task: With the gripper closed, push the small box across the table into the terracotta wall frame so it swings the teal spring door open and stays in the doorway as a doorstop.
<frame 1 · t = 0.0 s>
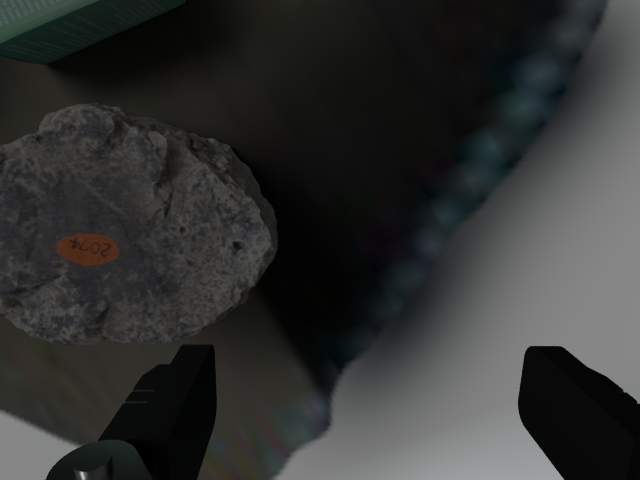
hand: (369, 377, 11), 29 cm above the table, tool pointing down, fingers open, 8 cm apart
petrified wood: (169, 212, 40), on the table
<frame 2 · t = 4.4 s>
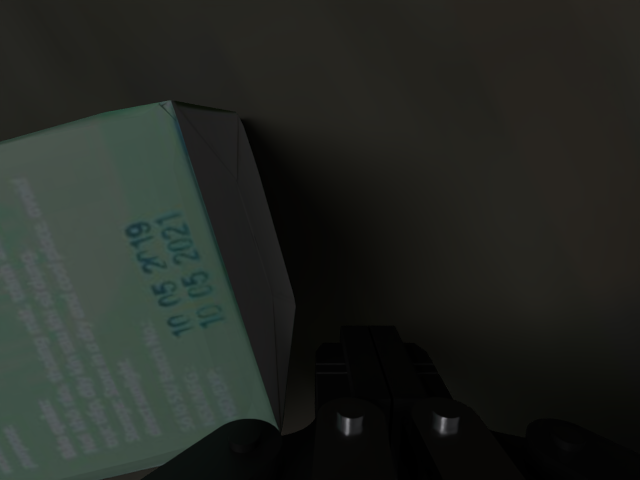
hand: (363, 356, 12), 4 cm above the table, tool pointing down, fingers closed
box: (91, 260, 16), on the table, touching gripper
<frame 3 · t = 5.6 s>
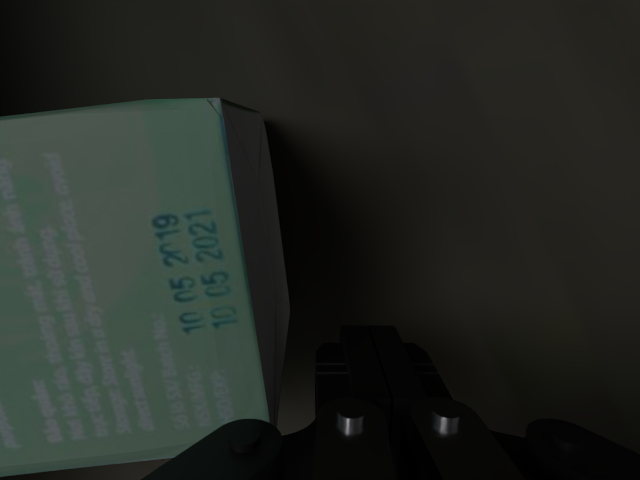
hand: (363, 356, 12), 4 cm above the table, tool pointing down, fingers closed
box: (89, 238, 15), on the table, touching door, gripper
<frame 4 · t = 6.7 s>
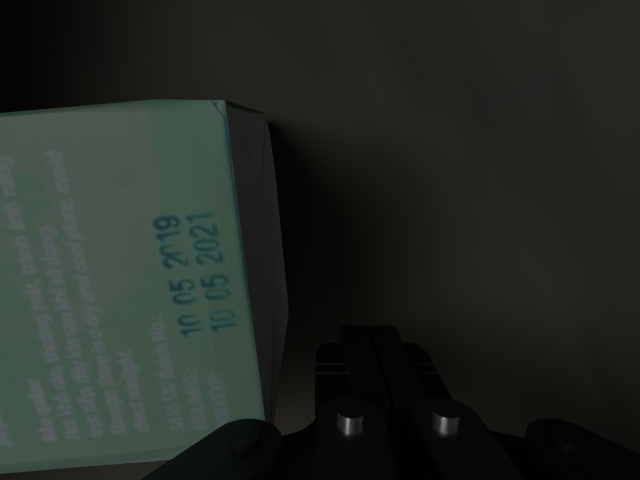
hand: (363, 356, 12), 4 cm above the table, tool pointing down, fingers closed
box: (89, 235, 15), on the table, touching door, gripper
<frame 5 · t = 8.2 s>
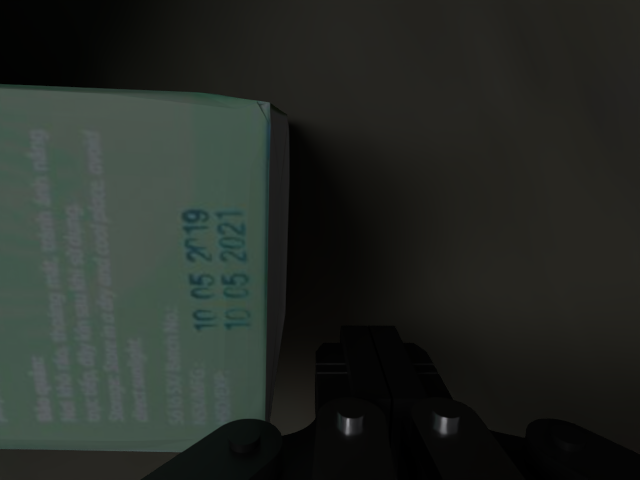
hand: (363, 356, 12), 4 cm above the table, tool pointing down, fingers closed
box: (93, 214, 15), on the table, touching door, gripper
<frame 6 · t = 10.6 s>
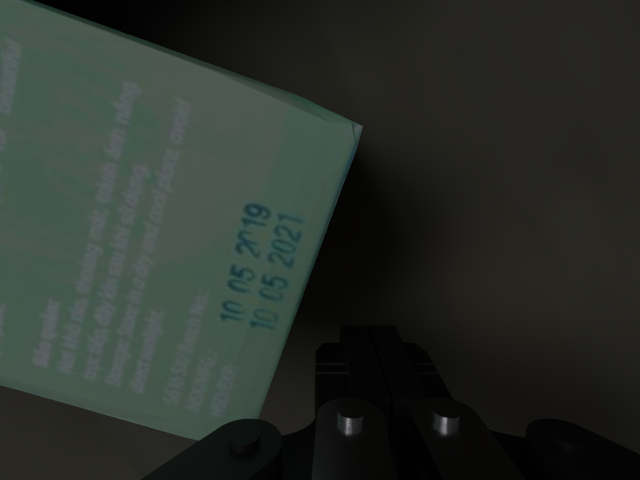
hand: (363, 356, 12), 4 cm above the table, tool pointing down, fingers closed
box: (119, 164, 15), on the table, touching door, gripper
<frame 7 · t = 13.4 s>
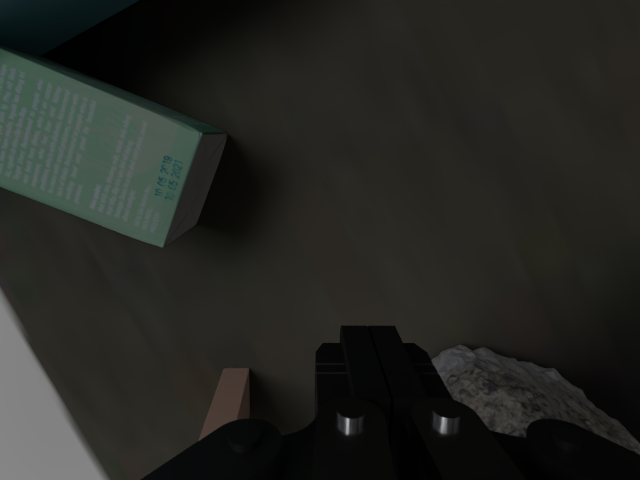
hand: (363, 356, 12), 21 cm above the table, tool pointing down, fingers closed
petrified wood: (473, 429, 37), on the table
box: (122, 144, 31), on the table
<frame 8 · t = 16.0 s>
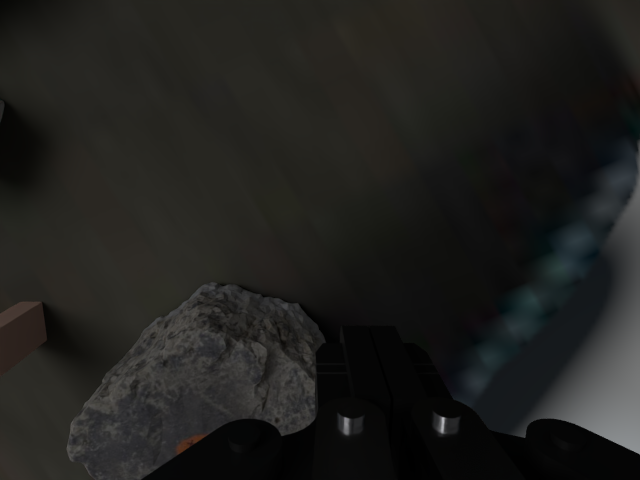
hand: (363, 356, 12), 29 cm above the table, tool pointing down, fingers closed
petrified wood: (241, 357, 44), on the table
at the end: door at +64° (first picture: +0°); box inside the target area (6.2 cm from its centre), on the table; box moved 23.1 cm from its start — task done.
